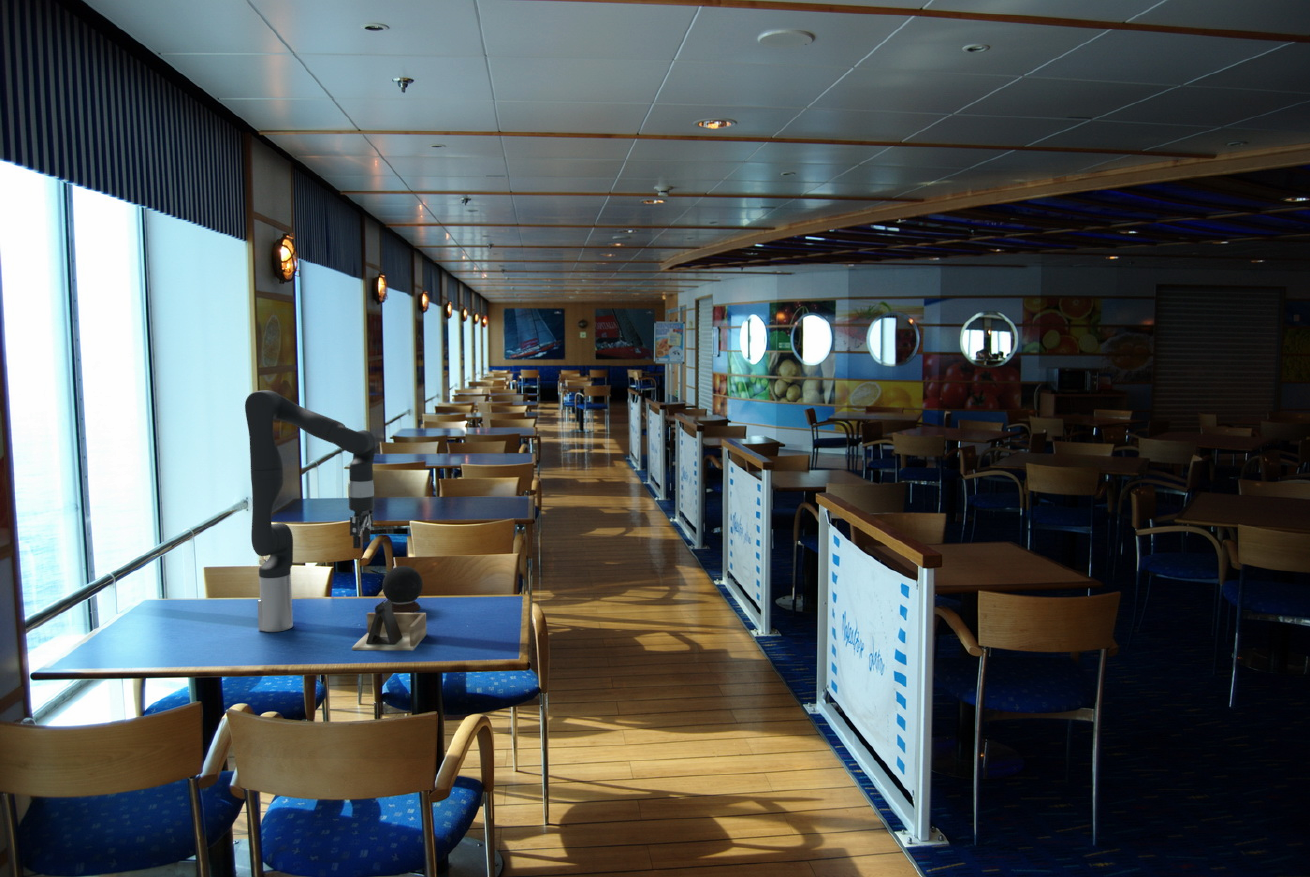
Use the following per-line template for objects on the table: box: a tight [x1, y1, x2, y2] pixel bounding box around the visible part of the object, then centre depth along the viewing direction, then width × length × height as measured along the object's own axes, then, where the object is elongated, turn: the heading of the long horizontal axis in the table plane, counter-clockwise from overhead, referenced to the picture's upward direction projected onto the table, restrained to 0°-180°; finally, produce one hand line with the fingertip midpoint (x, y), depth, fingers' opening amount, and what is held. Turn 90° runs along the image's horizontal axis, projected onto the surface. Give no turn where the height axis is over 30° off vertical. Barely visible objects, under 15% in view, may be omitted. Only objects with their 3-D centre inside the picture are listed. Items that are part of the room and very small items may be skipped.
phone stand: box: [366, 599, 403, 645], centre depth 270 cm, size 9×6×12 cm, turn 85°
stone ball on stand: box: [381, 565, 424, 613], centre depth 306 cm, size 13×13×15 cm
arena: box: [351, 612, 428, 651], centre depth 273 cm, size 18×15×7 cm
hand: (362, 545), depth 285 cm, fingers open, 8 cm apart
